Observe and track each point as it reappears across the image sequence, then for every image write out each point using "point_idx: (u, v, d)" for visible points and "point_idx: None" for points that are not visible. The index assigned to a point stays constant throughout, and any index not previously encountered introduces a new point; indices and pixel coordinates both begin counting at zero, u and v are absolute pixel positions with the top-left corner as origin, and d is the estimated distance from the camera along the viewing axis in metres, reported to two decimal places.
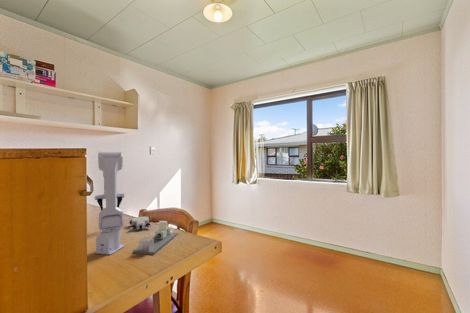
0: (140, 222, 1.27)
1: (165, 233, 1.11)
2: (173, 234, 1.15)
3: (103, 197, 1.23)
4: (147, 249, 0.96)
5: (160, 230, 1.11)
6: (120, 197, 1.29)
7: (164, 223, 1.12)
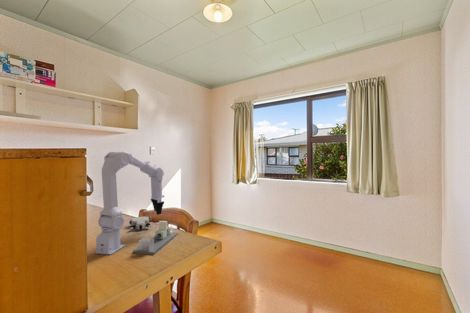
0: (140, 222, 1.27)
1: (165, 233, 1.11)
2: (173, 234, 1.15)
3: None
4: (147, 249, 0.96)
5: (160, 230, 1.11)
6: (157, 201, 1.21)
7: (164, 223, 1.12)
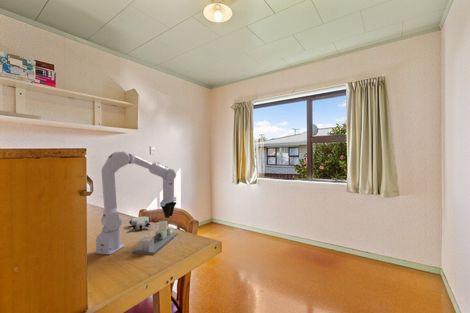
0: (140, 222, 1.27)
1: (165, 233, 1.11)
2: (173, 234, 1.15)
3: None
4: (147, 249, 0.96)
5: (160, 230, 1.11)
6: None
7: (164, 223, 1.12)
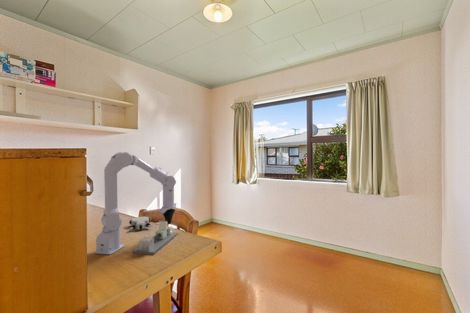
0: (140, 222, 1.27)
1: (165, 233, 1.11)
2: (173, 234, 1.15)
3: None
4: (147, 249, 0.96)
5: (160, 230, 1.11)
6: None
7: (164, 223, 1.12)
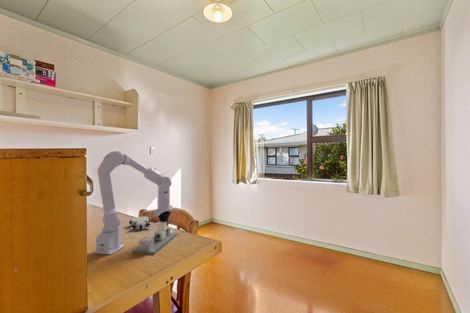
0: (140, 222, 1.27)
1: (164, 234, 1.10)
2: (173, 234, 1.15)
3: None
4: (147, 249, 0.96)
5: (159, 231, 1.10)
6: None
7: (163, 224, 1.11)
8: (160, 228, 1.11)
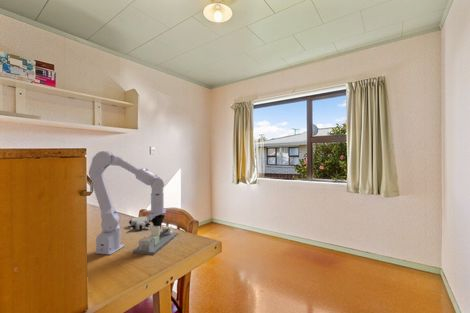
0: (140, 222, 1.27)
1: (157, 239, 1.04)
2: (173, 234, 1.15)
3: None
4: (147, 249, 0.96)
5: (152, 236, 1.04)
6: None
7: (156, 228, 1.05)
8: (153, 233, 1.05)
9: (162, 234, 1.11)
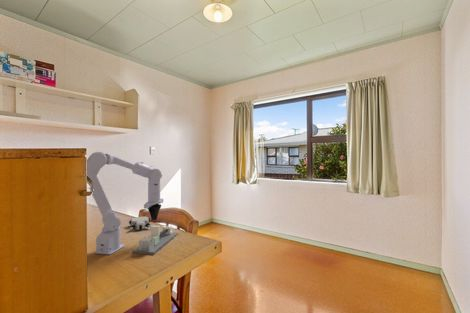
0: (140, 222, 1.27)
1: (157, 239, 1.04)
2: (173, 234, 1.15)
3: None
4: (147, 249, 0.96)
5: (152, 235, 1.04)
6: None
7: (156, 228, 1.05)
8: (153, 233, 1.05)
9: (162, 234, 1.11)
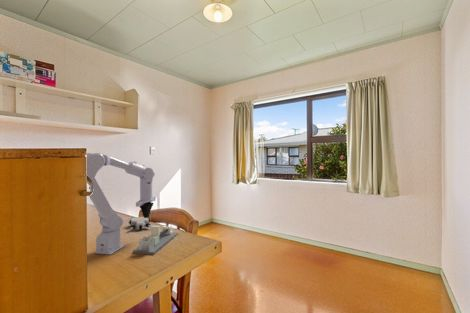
0: (140, 222, 1.27)
1: (157, 239, 1.04)
2: (173, 234, 1.15)
3: None
4: (147, 249, 0.96)
5: (152, 235, 1.04)
6: None
7: (156, 228, 1.05)
8: (153, 233, 1.05)
9: (162, 234, 1.11)
